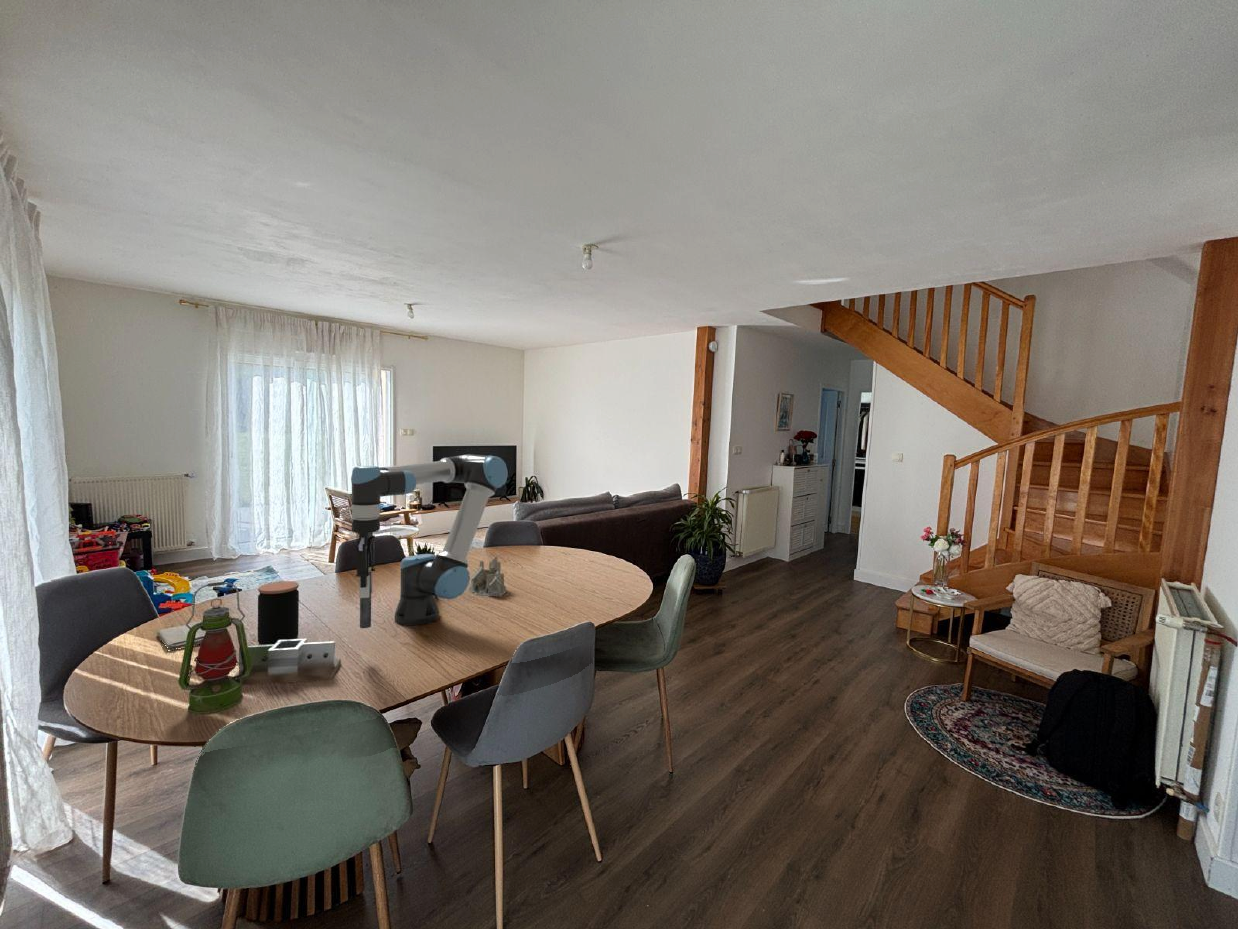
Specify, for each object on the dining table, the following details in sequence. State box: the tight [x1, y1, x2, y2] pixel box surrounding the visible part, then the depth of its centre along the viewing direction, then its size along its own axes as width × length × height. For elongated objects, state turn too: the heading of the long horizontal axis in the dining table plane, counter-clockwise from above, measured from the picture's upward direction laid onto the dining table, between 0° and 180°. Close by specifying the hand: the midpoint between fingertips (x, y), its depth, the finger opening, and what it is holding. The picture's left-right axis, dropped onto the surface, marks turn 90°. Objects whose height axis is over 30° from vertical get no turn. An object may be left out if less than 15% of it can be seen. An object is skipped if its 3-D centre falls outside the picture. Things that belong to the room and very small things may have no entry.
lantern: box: [178, 581, 251, 716], centre depth 122 cm, size 14×11×30 cm
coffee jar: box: [257, 580, 300, 645], centre depth 158 cm, size 11×11×18 cm
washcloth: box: [156, 620, 206, 651], centre depth 158 cm, size 12×18×3 cm, turn 52°
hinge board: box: [232, 658, 342, 686], centre depth 138 cm, size 24×9×2 cm, turn 104°
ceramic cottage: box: [468, 555, 507, 598], centre depth 217 cm, size 16×16×15 cm
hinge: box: [238, 638, 336, 676], centre depth 138 cm, size 23×7×7 cm, turn 104°
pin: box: [359, 566, 372, 629], centre depth 150 cm, size 3×3×18 cm
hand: (365, 595), depth 150 cm, fingers closed on pin, 3 cm apart
